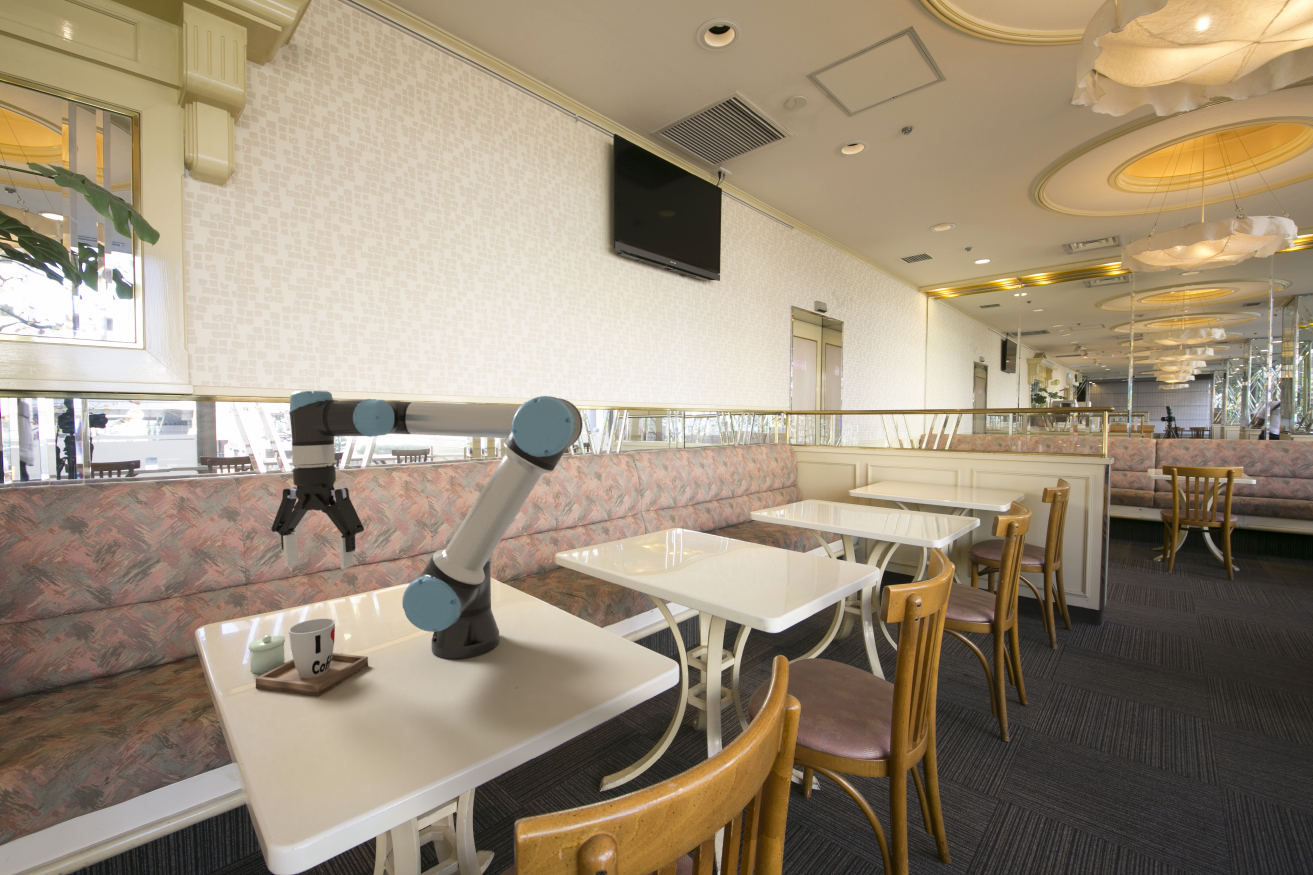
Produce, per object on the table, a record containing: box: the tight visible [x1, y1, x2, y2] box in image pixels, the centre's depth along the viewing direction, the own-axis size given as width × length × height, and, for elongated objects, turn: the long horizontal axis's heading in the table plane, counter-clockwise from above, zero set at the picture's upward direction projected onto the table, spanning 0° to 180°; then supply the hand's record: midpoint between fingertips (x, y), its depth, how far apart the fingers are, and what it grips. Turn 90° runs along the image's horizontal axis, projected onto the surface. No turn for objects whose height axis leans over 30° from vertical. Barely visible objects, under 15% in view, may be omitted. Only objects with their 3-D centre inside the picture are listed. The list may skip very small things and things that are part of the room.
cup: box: [288, 617, 336, 679], centre depth 113 cm, size 8×8×10 cm
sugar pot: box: [248, 634, 286, 675], centre depth 118 cm, size 6×6×7 cm
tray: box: [255, 652, 369, 697], centre depth 113 cm, size 15×13×2 cm
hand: (319, 566), depth 114 cm, fingers open, 13 cm apart
